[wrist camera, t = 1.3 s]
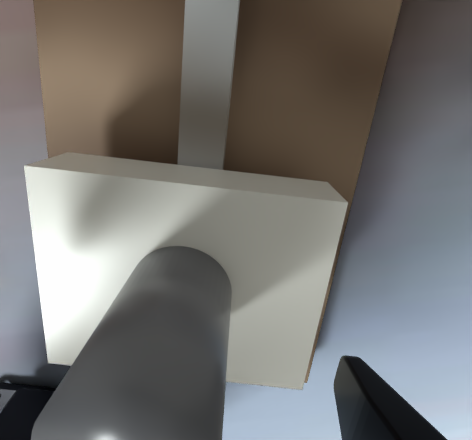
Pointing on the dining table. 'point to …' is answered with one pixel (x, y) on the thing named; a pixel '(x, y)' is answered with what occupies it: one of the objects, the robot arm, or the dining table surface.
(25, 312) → the dining table surface
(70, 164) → the carriage
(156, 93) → the rail board
